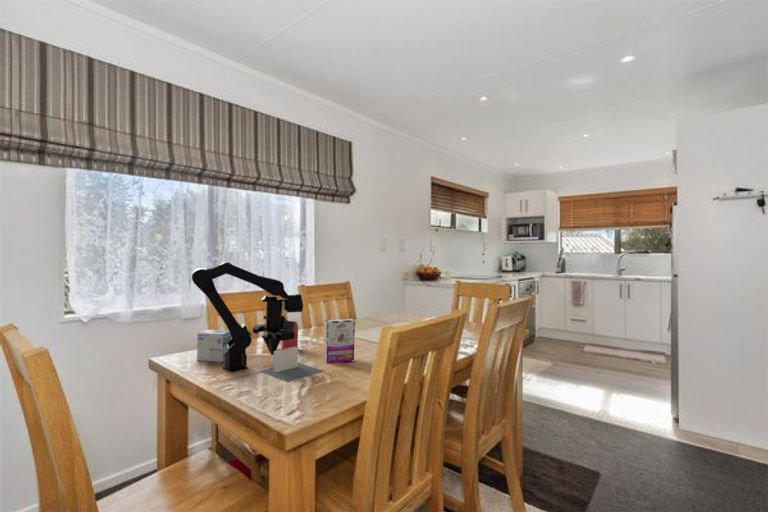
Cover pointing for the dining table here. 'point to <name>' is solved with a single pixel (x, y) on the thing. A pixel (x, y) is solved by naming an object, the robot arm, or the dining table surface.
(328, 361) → the candy bar box
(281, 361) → the deck
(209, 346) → the light bulb box
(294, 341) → the beer can
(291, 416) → the dining table surface
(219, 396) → the dining table surface
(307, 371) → the mat
